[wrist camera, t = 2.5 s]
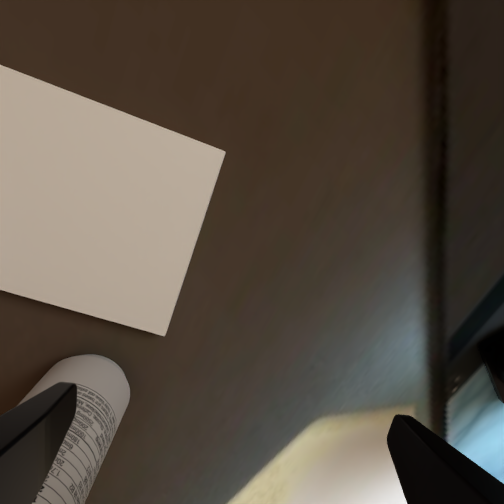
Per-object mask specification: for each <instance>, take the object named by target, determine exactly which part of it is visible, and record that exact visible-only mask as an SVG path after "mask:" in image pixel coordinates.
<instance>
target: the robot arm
mask: <svg viewBox="0 0 504 504" xmlns="http://www.w3.org/2000/svg"><path fill="white" fill-rule="evenodd" d="M478 348H479V351H480V354H481V356H482V359H483V361H484V364H485V366H486V369H487V371H488V373H489V376H490V378H491V381H492V383H493V386H494V388H495V391H496V393H497V396H498V398H499V400H500V401H502V402H503V403H504V331H503V332H501V333H499V334H497V335H495V336H493V337H491V338H489V339H487V340H485V341H483V342H481V343H480V345H479V347H478ZM76 408H77V385H76V384H75V383H72V382H58V383H56V384H54V385H53V386H51V387H49V388H47V389H46V390H44V391H42V392H40V393H39V394H37V395H35V396H33V397H32V398H30V399H28V400H26V401H25V402H23V403H21V404H20V405H18V406H16V407H14V408H13V409H11V410H9V411H7V412H6V413H4V414H2V415H0V504H32V503H33V501H34V499H35V498H36V496H37V494H38V492H39V491H40V489H41V487H42V485H43V483H44V481H45V479H46V477H47V475H48V473H49V471H50V469H51V467H52V465H53V462H54V460H55V458H56V456H57V454H58V452H59V449H60V447H61V445H62V443H63V441H64V439H65V437H66V434H67V432H68V430H69V428H70V426H71V424H72V421H73V419H74V417H75V413H76ZM387 444H388V448H389V451H390V454H391V457H392V460H393V463H394V466H395V469H396V472H397V475H398V478H399V481H400V484H401V487H402V490H403V493H404V495H405V498H406V501H407V504H504V484H503V483H502V482H500V481H499V480H497V479H496V478H495V477H493V476H492V475H491V474H489V473H488V472H487V471H485V470H484V469H482V468H481V467H480V466H478V465H477V464H476V463H474V462H473V461H472V460H470V459H469V458H467V457H466V456H465V455H463V454H462V453H461V452H459V451H458V450H456V449H455V448H454V447H452V446H451V445H450V444H448V443H447V442H446V441H444V440H443V439H441V438H440V437H439V436H437V435H436V434H435V433H433V432H432V431H431V430H429V429H428V428H426V427H425V426H424V425H422V424H421V423H420V422H418V421H417V420H416V419H414V418H413V417H411V416H409V415H400V414H398V415H396V416H395V417H394V418H393V421H392V424H391V427H390V430H389V432H388V435H387Z"/></svg>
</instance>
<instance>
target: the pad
mask: <svg viewBox="0 0 504 504" xmlns="http://www.w3.org/2000/svg"><path fill="white" fill-rule="evenodd" d="M225 153H226V152H225V151H223V150H220V149H218V148H215V147H212V146H210V145H207V144H205V143H202V142H199V141H197V140H194V139H192V138H189V137H186V136H184V135H181V134H179V133H176V132H173V131H171V130H168V129H166V128H163V127H160V126H158V125H155V124H153V123H150V122H147V121H145V120H142V119H140V118H137V117H134V116H132V115H129V114H127V113H124V112H121V111H119V110H116V109H114V108H111V107H108V106H106V105H103V104H101V103H98V102H95V101H93V100H90V99H88V98H85V97H82V96H80V95H77V94H75V93H72V92H69V91H67V90H64V89H62V88H59V87H56V86H54V85H51V84H49V83H46V82H43V81H41V80H38V79H36V78H33V77H30V76H28V75H25V74H23V73H20V72H17V71H15V70H12V69H10V68H7V67H4V66H2V65H0V290H3V291H6V292H10V293H13V294H17V295H20V296H24V297H27V298H31V299H34V300H38V301H42V302H45V303H49V304H52V305H56V306H59V307H63V308H66V309H70V310H73V311H77V312H80V313H84V314H87V315H91V316H95V317H98V318H102V319H105V320H109V321H112V322H116V323H119V324H123V325H126V326H130V327H133V328H137V329H141V330H144V331H148V332H151V333H155V334H158V335H162V336H165V334H166V332H167V329H168V326H169V323H170V320H171V317H172V314H173V311H174V308H175V305H176V302H177V299H178V296H179V293H180V290H181V287H182V284H183V281H184V278H185V275H186V272H187V269H188V266H189V263H190V260H191V256H192V253H193V250H194V247H195V244H196V241H197V238H198V235H199V232H200V229H201V226H202V223H203V220H204V217H205V214H206V211H207V208H208V205H209V202H210V199H211V196H212V193H213V190H214V187H215V184H216V181H217V178H218V175H219V172H220V168H221V165H222V162H223V159H224V156H225Z"/></svg>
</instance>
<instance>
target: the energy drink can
mask: <svg viewBox="0 0 504 504" xmlns="http://www.w3.org/2000/svg"><path fill="white" fill-rule="evenodd" d="M58 382H72V383H75V384H76V385H77V408H76V413H75V417H74V419H73V421H72V424H71V426H70V428H69V430H68V432H67V434H66V437H65V439H64V441H63V443H62V445H61V447H60V449H59V452H58V454H57V456H56V458H55V460H54V462H53V465H52V467H51V469H50V471H49V473H48V475H47V477H46V479H45V481H44V483H43V485H42V487H41V489H40V491H39V492H38V494H37V496H36V498H35V499H34V501H33V503H32V504H84V503H85V501H86V498H87V496H88V494H89V492H90V489H91V487H92V485H93V482H94V480H95V478H96V476H97V473H98V471H99V469H100V467H101V464H102V462H103V460H104V458H105V455H106V453H107V451H108V448H109V446H110V444H111V442H112V439H113V437H114V435H115V433H116V430H117V428H118V426H119V424H120V421H121V419H122V417H123V415H124V412H125V410H126V408H127V405H128V403H129V399H130V388H129V384H128V382H127V380H126V377H125V374H124V373H123V371H122V369H121V368H120V367H119V366H118V365H117V364H116V363H115V362H113V361H112V360H110V359H108V358H106V357H103V356H100V355H95V354H86V355H80V356H73V357H69V358H66V359H63V360H61V361H60V362H58V363H56V364H55V365H54V366H53V367H52V368H51V369H50V370H49V371H48V372H47V373H46V374H45V375H44V376H43V378H42V379H41V380H40V381H39V382H38V383H37V384H36V385H35V386H34V387H33V389H32V390H31V391H30V392H29V393H28V394H27V395H26V396H25V397H24V399H23V400H22V401H21V402H20V403H19V404H18V405H20V404H21V403H23V402H25V401H26V400H28V399H30V398H32V397H33V396H35V395H37V394H39V393H40V392H42V391H44V390H46V389H47V388H49V387H51V386H53V385H54V384H56V383H58ZM18 405H17V406H18Z"/></svg>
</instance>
